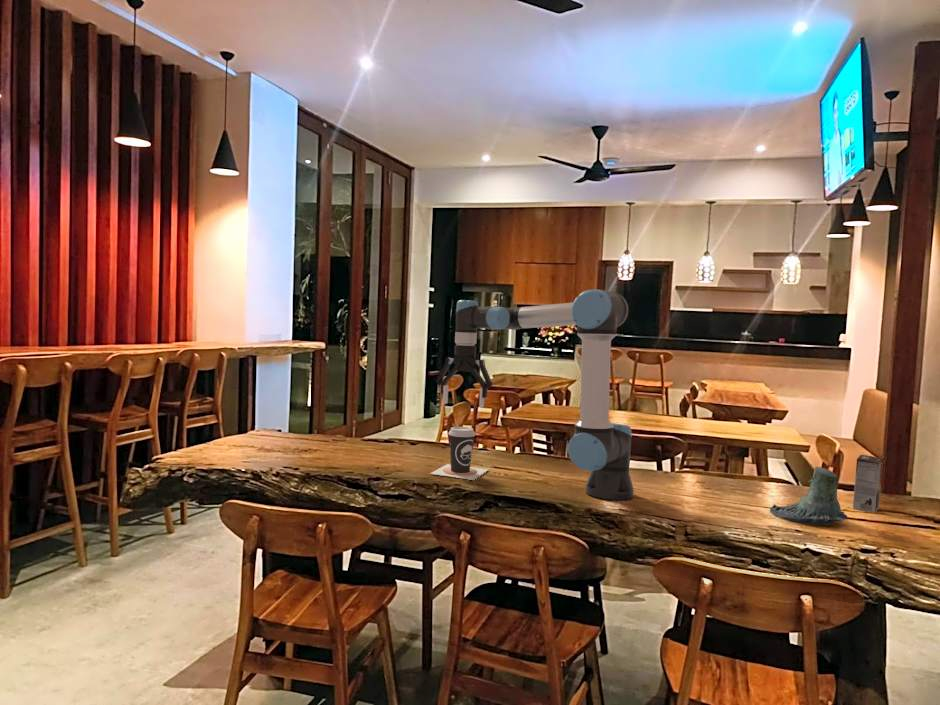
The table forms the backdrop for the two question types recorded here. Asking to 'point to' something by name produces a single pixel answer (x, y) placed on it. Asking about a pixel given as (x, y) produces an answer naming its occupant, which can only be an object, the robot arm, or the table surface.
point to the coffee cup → (461, 448)
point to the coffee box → (868, 483)
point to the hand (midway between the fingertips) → (463, 405)
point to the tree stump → (815, 502)
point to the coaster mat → (471, 475)
